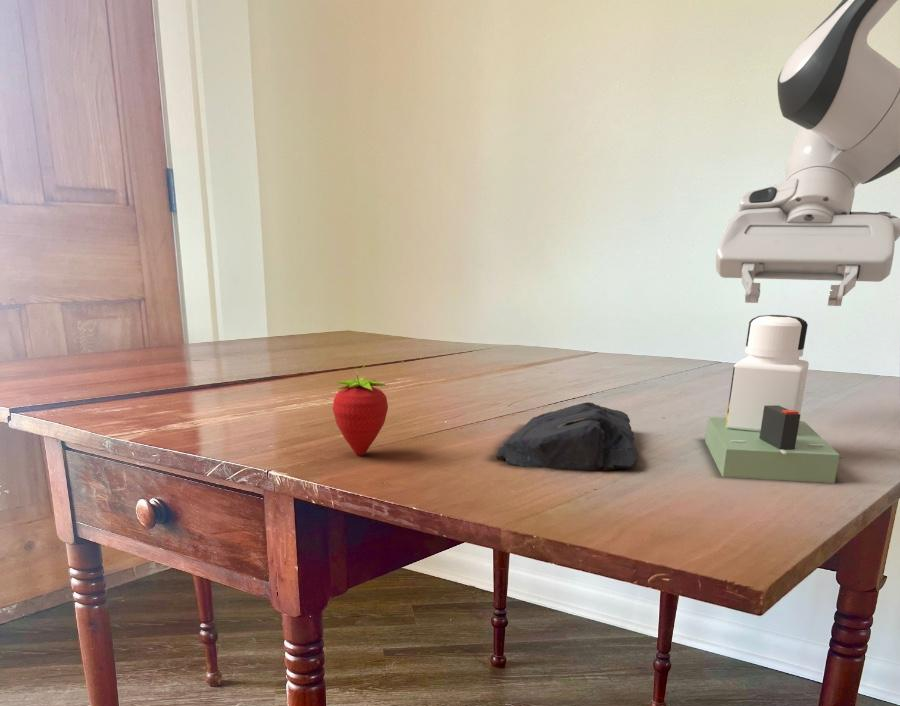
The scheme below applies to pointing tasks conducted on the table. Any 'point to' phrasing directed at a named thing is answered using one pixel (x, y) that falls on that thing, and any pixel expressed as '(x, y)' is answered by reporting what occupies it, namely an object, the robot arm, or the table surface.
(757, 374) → the medicine bottle
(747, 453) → the console
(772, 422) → the dark grey block
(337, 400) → the strawberry
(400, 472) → the table surface
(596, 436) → the dark slate chunk
